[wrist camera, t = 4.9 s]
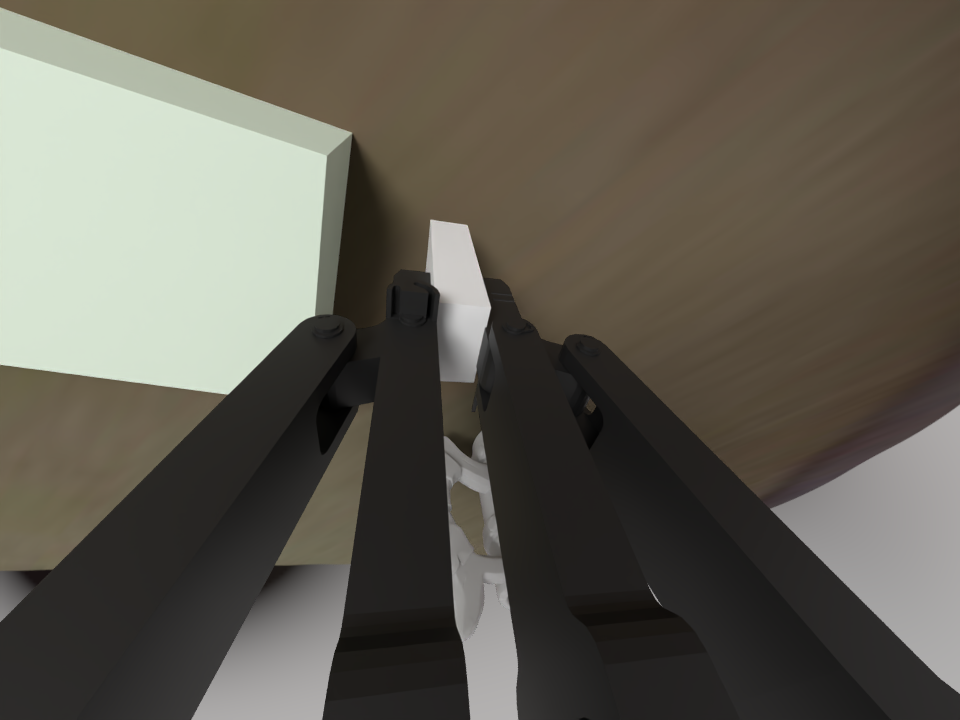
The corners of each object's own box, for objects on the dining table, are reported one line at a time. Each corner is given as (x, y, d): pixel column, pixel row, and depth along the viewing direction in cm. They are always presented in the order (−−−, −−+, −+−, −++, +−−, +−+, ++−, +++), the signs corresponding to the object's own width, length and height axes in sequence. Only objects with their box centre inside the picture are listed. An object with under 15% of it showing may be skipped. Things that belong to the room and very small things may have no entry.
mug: (532, 480, 30) (581, 661, 21) (398, 453, 26) (385, 669, 16) (588, 424, 26) (679, 616, 17) (442, 380, 22) (456, 610, 12)
